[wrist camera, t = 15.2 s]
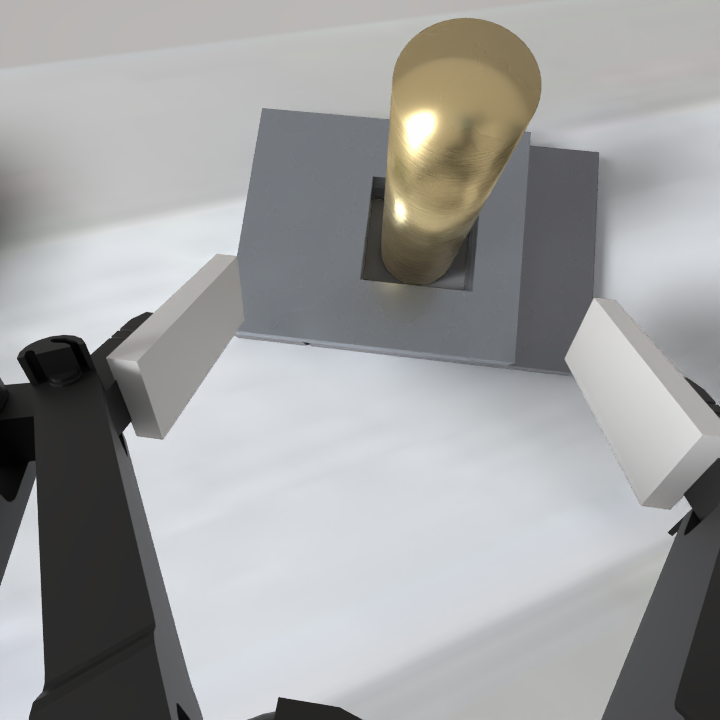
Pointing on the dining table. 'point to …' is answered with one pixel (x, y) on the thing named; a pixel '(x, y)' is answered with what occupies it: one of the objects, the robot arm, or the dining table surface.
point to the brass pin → (450, 138)
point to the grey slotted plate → (347, 248)
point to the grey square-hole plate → (546, 259)
